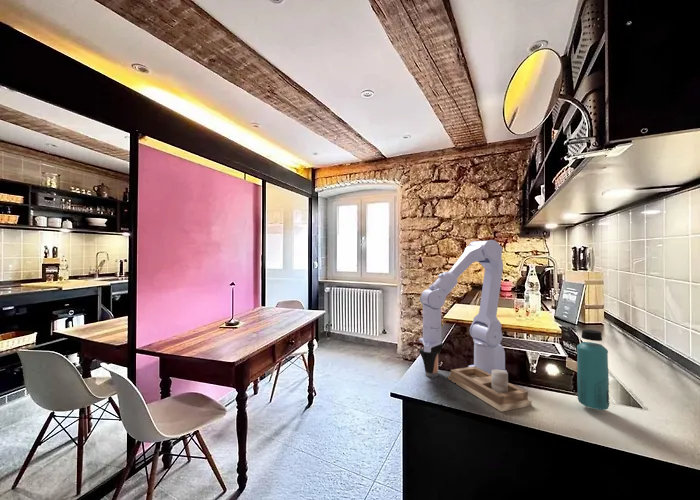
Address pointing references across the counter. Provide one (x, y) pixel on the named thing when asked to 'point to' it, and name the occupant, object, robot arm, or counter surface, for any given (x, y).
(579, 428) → the counter surface
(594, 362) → the beverage bottle
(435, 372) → the peach rounded capsule
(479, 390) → the socket holder
